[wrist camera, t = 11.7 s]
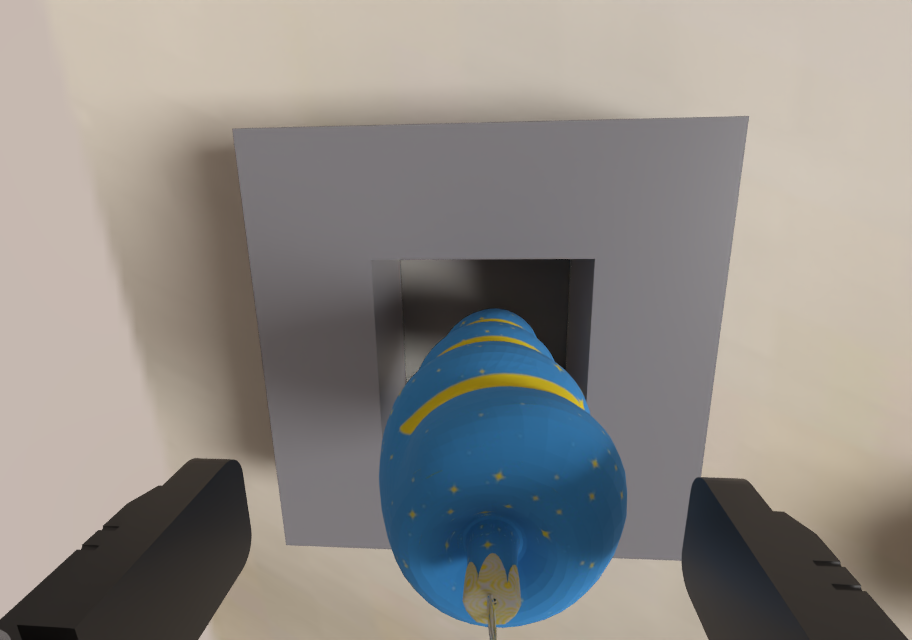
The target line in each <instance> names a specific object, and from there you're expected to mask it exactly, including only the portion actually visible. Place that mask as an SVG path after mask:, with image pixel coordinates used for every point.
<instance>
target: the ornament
mask: <svg viewBox="0 0 912 640" xmlns="http://www.w3.org/2000/svg"><path fill="white" fill-rule="evenodd" d="M379 488H380V498H381V508H382V514H383V519H384V523H385V528H386V532H387V537H388V540H389V543H390V546H391V549H392V551H393V554H394V556H395V559H396V562H397V564H398V565H399V567H400V569H401V571H402V573H403V575H404V577H405V578H406V579H407V580H408V582H409V583H410V584H411V586H412V587H413V588H414V589H415V590H416V591H417V592H418V593H419V594H420V595H421V596H422V597H423V598H424V599H425V600H426V601H427V602H428V603H429V604H431V605H432V606H434V607H435V608H437V609H438V610H440V611H441V612H443V613H445V614H447V615H449V616H451V617H453V618H455V619H457V620H461V621H464V622H467V623H470V624H474V625H480V626H485V627H488V628H489V636H490V640H496V627H502V628H504V627H515V626H522V625H526V624H530V623H534V622H538V621H541V620H544V619H547V618H549V617H551V616H553V615H556V614H558V613H560V612H562V611H563V610H565V609H566V608H568V607H569V606H571V605H572V604H574V603H575V602H576V601H577V600H578V599H579V598H581V597H582V596H583V595H584V594H585V593H586V592H587V591H588V590H589V589H590V588H591V587H592V586H593V585H594V584H595V583H596V581H597V580H598V579H599V578H600V576H601V575H602V573H603V571H604V570H605V568H606V567H607V565H608V564H609V562H610V560H611V559H612V557H613V556H614V554H615V551H616V548H617V546H618V543H619V540H620V538H621V535H622V532H623V528H624V524H625V520H626V516H627V484H626V474H625V470H624V467H623V464H622V461H621V458H620V456H619V454H618V451H617V449H616V447H615V445H614V443H613V441H612V439H611V438H610V436H609V435H608V433H607V432H606V431H605V429H604V428H603V427H602V426H601V425H600V424H599V423H598V422H597V421H596V420H595V419H594V418H593V417H592V416H591V415H590V410H589V408H588V405H587V403H586V400H585V397H584V395H583V393H582V391H581V389H580V388H579V386H578V385H577V383H576V382H575V380H574V379H573V378H572V377H571V376H570V375H569V374H568V373H567V371H565V370H564V369H563V368H562V367H561V366H560V365H558V364H557V363H556V362H555V361H554V359H553V357H552V355H551V353H550V352H549V350H548V349H547V348H546V346H545V345H544V344H543V343H542V342H541V341H540V340H538V339H537V337H536V335H535V333H534V331H533V329H532V328H531V327H530V325H529V324H528V323H527V322H526V321H525V320H524V319H522V318H521V317H520V316H518V315H516V314H515V313H513V312H510V311H508V310H505V309H499V308H492V309H485V310H481V311H478V312H475V313H473V314H471V315H469V316H467V317H465V318H464V319H462V320H461V321H460V322H459V323H457V324H456V325H455V326H454V327H453V328H452V330H451V331H450V332H449V333H448V334H447V336H446V337H445V338H443V339H442V340H441V341H440V342H439V343H437V344H436V345H435V346H434V347H433V348H432V350H431V351H430V352H429V354H428V355H427V356H426V357H425V359H424V361H423V363H422V365H421V367H420V369H419V370H418V371H417V372H416V373H415V374H414V375H413V376H412V377H411V379H410V380H409V381H408V382H407V384H406V385H405V386H404V387H403V389H402V390H401V392H400V393H399V395H398V397H397V399H396V400H395V402H394V404H393V407H392V410H391V412H390V415H389V418H388V420H387V424H386V427H385V430H384V434H383V439H382V445H381V455H380V466H379Z"/></svg>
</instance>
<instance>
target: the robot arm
mask: <svg viewBox="0 0 912 640" xmlns="http://www.w3.org/2000/svg"><path fill="white" fill-rule="evenodd" d="M250 546H251V525H250V518H249V511H248V505H247V498H246V491H245V485H244V478H243V472H242V468H241V465H240V464H239V462H238V461H236V460H230V459H201V458H194V459H191V460H189V461H188V462H187V463H186V464H185V465H184V466H183V467H181V468H180V469H179V470H178V471H177V472H176V473H175V474H174V475H173V476H172V477H171V478H170V479H169V480H168V481H167V482H166V483H165V484H164V485H163V486H157V487H155V488H154V489H152V490H150V491H149V492H147V493H145V494H143V495H142V496H140V497H138V498H136V499H135V500H133V501H131V502H129V503H128V504H126V505H125V506H124V507H123V508H122V509H121V510H120V511H119V512H118V513H117V514H116V515H114V516H113V517H112V518H111V519H110V520H109V521H108V522H107V523H106V524H104V525H103V529H102V530H98V531H97V532H96V533H95V534H94V535H93V536H92V537H90V538H89V539H88V540H87V541H86V542H85V543H84V544H83V545H82V549H81V550H76V551H75V552H74V553H73V554H72V555H71V556H69V557H68V558H67V559H66V560H65V561H64V562H63V563H62V564H61V565H60V566H58V568H56V569H55V570H54V571H53V572H52V573H51V574H50V575H49V576H47V577H46V578H45V579H44V580H43V581H42V582H41V583H40V584H39V585H38V586H37V587H35V588H34V590H32V591H31V592H30V593H29V594H28V595H27V596H26V597H25V598H23V599H22V601H20V602H19V603H18V604H17V605H16V606H15V607H14V608H13V609H11V610H10V611H9V612H8V613H7V614H6V615H5V616H4V617H3V618H1V619H0V640H198V639H199V637H200V636H201V634H202V633H203V631H204V630H205V628H206V626H207V625H208V623H209V622H210V620H211V619H212V617H213V615H214V614H215V612H216V611H217V609H218V607H219V606H220V604H221V603H222V601H223V600H224V598H225V596H226V595H227V593H228V592H229V590H230V588H231V587H232V585H233V584H234V582H235V581H236V579H237V577H238V576H239V574H240V573H241V571H242V569H243V568H244V566H245V563H246V561H247V558H248V555H249V551H250ZM682 571H683V577H684V582H685V586H686V589H687V592H688V594H689V597H690V599H691V601H692V603H693V606H694V608H695V610H696V612H697V615H698V617H699V619H700V621H701V623H702V626H703V628H704V630H705V632H706V635H707V637H708V639H709V640H908V639H907V638H906V636H905V635H904V634H903V633H902V632H901V631H900V630H899V628H898V627H897V626H896V625H895V624H894V623H893V622H892V620H891V619H890V618H889V617H888V616H887V615H886V614H885V612H884V611H883V610H882V609H881V608H880V607H879V605H878V604H877V603H876V602H875V601H874V600H873V599H872V597H871V596H870V595H869V594H868V593H867V592H866V591H862V590H861V585H860V584H859V582H858V581H857V580H856V579H855V578H854V577H853V576H852V574H851V573H850V572H849V571H848V570H847V569H846V568H845V567H841V564H840V561H839V560H838V558H837V557H836V556H835V555H834V554H833V553H832V551H831V550H830V549H829V548H828V547H827V546H826V545H825V543H824V542H823V541H822V540H821V539H820V538H819V537H818V535H817V534H815V533H814V532H812V531H811V530H809V529H808V528H807V527H805V526H804V525H802V524H801V523H799V522H798V521H796V520H795V519H794V518H792V517H791V516H789V515H788V514H786V513H785V512H777V511H772V510H771V508H770V507H769V506H768V505H767V503H766V502H765V501H764V500H763V498H762V497H761V496H760V495H759V493H758V492H757V491H756V490H755V488H754V487H753V486H752V485H751V484H750V482H749V481H747V480H745V479H735V478H707V477H697V478H696V479H695V480H694V481H693V483H692V486H691V491H690V498H689V505H688V512H687V519H686V526H685V533H684V540H683V547H682Z"/></svg>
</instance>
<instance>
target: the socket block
mask: <svg viewBox="0 0 912 640" xmlns="http://www.w3.org/2000/svg"><path fill="white" fill-rule="evenodd" d="M748 120H749V116H734V117H693V118H651V119H610V120H569V121H528V122H487V123H446V124H405V125H364V126H323V127H282V128H241V129H232V130H233V137H234V145H235V153H236V161H237V168H238V176H239V184H240V191H241V199H242V207H243V215H244V222H245V230H246V238H247V246H248V253H249V261H250V269H251V277H252V284H253V292H254V300H255V308H256V315H257V323H258V331H259V338H260V346H261V354H262V362H263V369H264V377H265V385H266V393H267V400H268V408H269V416H270V424H271V431H272V439H273V447H274V455H275V462H276V470H277V478H278V485H279V493H280V501H281V509H282V516H283V524H284V532H285V540H286V545H297V546H322V547H348V548H373V549H391V546H390V543H389V540H388V537H387V532H386V528H385V523H384V519H383V514H382V508H381V498H380V488H379V466H380V455H381V445H382V439H383V434H384V430H385V427H386V424H387V420H388V418H389V415H390V412H391V410H392V407H393V404H394V402H395V400H396V399H397V397H398V395H399V393H400V392H401V390H402V389H403V387H404V386H405V385H406V371H405V350H404V328H403V307H402V286H401V264H400V260H425V259H571V263H570V285H569V307H568V328H567V350H566V371H567V373H568V374H569V375H570V376H571V377H572V378H573V379H574V380H575V382H576V383H577V385H578V386H579V388H580V389H581V391H582V393H583V395H584V397H585V400H586V403H587V405H588V408H589V410H590V415H591V416H592V417H593V418H594V419H595V420H596V421H597V422H598V423H599V424H600V425H601V426H602V427H603V428H604V429H605V431H606V432H607V433H608V435H609V436H610V438H611V439H612V441H613V443H614V445H615V447H616V449H617V451H618V454H619V456H620V458H621V461H622V464H623V467H624V470H625V474H626V484H627V516H626V520H625V524H624V528H623V532H622V535H621V538H620V540H619V543H618V546H617V548H616V551H615V554H614V556H613V557H612V558H627V559H653V560H678V561H682V547H683V540H684V533H685V526H686V519H687V512H688V505H689V498H690V491H691V486H692V483H693V481H694V480H695V479H696V478H697V477H701V472H702V465H703V457H704V450H705V442H706V435H707V427H708V420H709V412H710V405H711V397H712V390H713V382H714V375H715V367H716V360H717V352H718V345H719V337H720V330H721V322H722V315H723V307H724V300H725V292H726V285H727V277H728V270H729V262H730V255H731V247H732V240H733V232H734V225H735V217H736V210H737V202H738V195H739V187H740V180H741V172H742V165H743V157H744V150H745V142H746V135H747V127H748Z"/></svg>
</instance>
